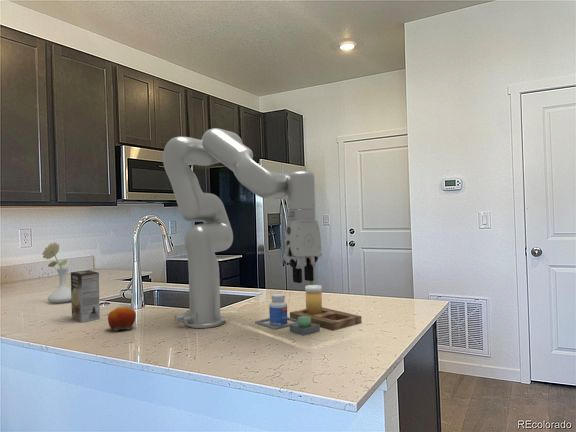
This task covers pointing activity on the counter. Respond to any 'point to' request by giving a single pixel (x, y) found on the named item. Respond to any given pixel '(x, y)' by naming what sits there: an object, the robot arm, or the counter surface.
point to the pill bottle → (278, 310)
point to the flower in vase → (63, 291)
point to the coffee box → (85, 295)
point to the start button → (304, 321)
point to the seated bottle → (313, 299)
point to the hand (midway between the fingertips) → (303, 280)
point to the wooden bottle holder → (329, 318)
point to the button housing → (304, 328)
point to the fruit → (121, 318)
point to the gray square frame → (274, 326)
